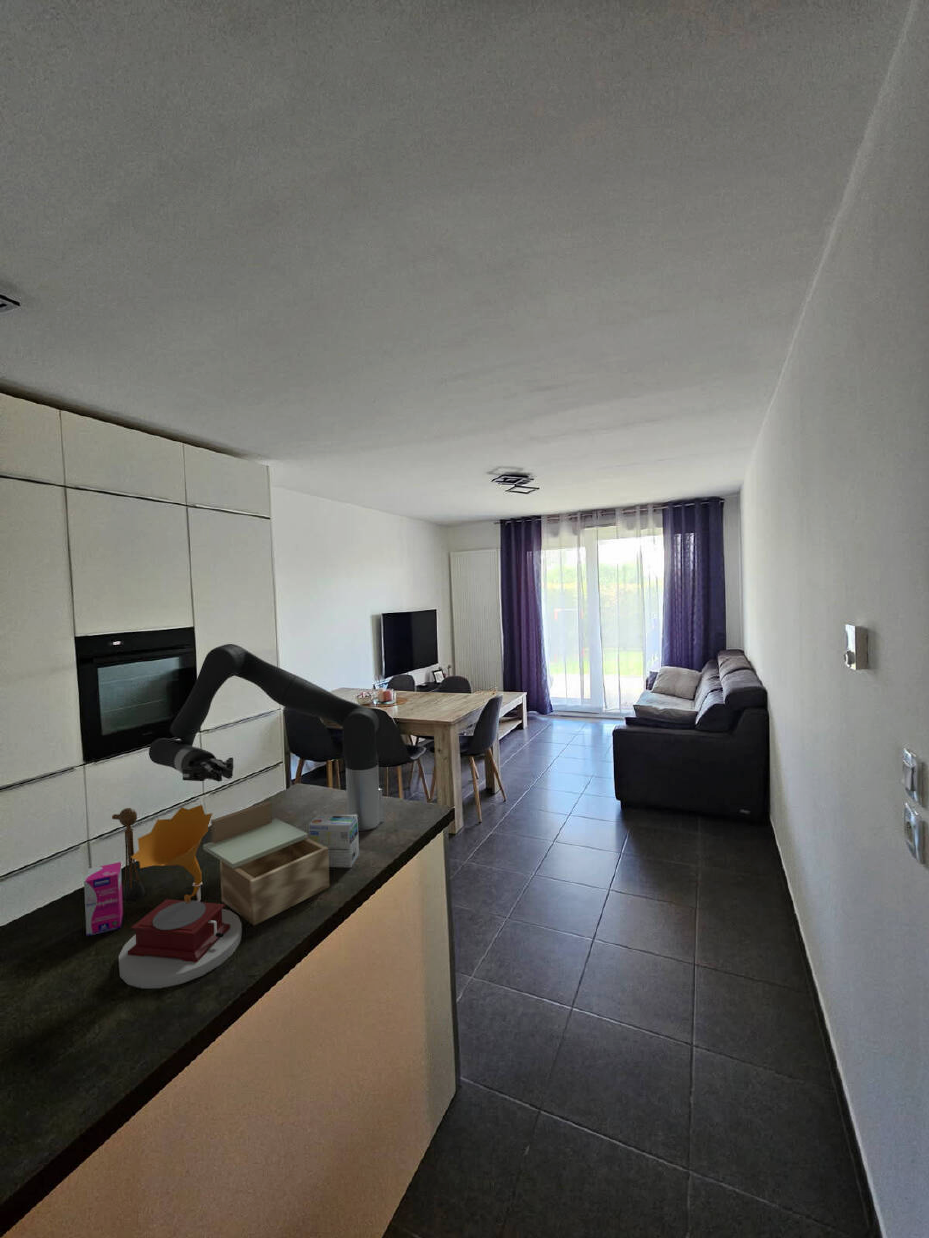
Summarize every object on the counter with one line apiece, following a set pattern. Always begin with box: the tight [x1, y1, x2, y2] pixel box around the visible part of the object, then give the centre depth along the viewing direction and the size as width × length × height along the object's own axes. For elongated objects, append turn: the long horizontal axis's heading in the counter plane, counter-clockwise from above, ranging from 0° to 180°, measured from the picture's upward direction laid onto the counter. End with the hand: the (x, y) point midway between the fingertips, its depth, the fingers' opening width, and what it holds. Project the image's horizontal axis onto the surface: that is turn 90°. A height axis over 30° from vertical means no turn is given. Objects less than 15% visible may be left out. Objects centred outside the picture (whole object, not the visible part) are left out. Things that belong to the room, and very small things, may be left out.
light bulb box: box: [307, 813, 360, 868], centre depth 133 cm, size 11×7×11 cm, turn 84°
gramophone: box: [118, 804, 243, 989], centre depth 100 cm, size 20×20×25 cm
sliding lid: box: [202, 800, 309, 869], centre depth 124 cm, size 18×14×6 cm
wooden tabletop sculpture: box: [111, 807, 146, 903], centre depth 119 cm, size 6×5×20 cm
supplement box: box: [83, 862, 124, 937], centre depth 108 cm, size 6×6×12 cm
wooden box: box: [219, 837, 330, 926], centre depth 119 cm, size 18×14×9 cm
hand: (225, 775), depth 132 cm, fingers closed
